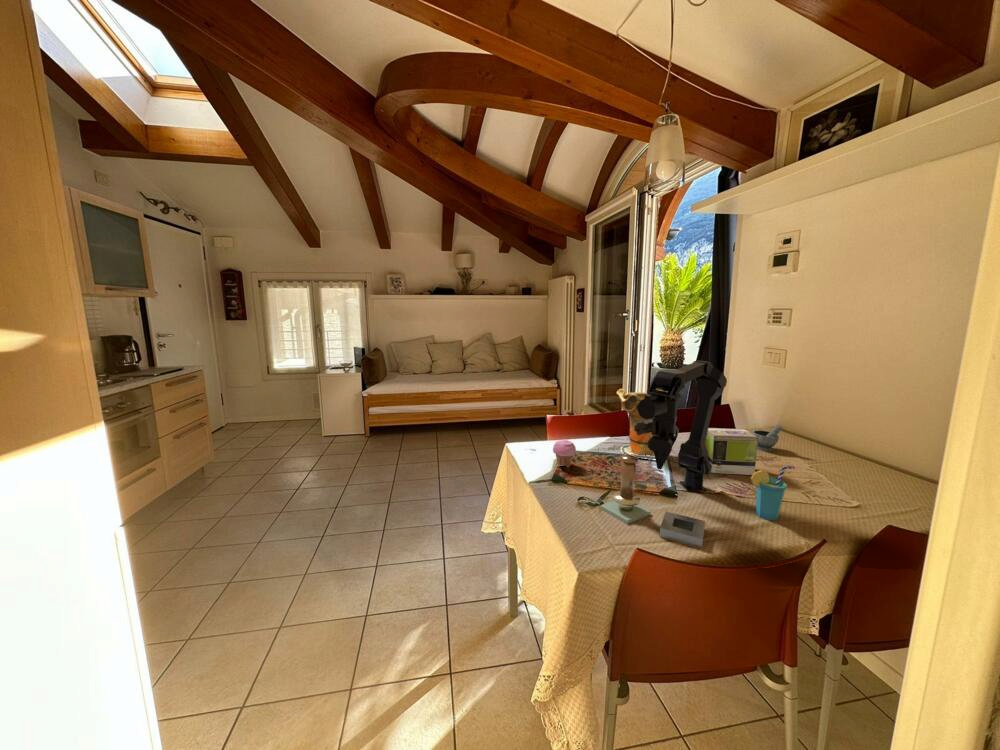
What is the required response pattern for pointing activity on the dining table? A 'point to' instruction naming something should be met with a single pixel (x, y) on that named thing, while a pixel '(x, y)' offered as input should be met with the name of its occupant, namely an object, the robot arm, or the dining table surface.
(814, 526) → the dining table surface
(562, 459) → the cupcake
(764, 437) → the mortar and pestle
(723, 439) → the tea box
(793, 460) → the dining table surface
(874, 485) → the dining table surface
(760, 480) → the cup
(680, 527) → the bore block
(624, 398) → the decorative vase
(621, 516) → the pad
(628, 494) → the metallic flared cylinder
